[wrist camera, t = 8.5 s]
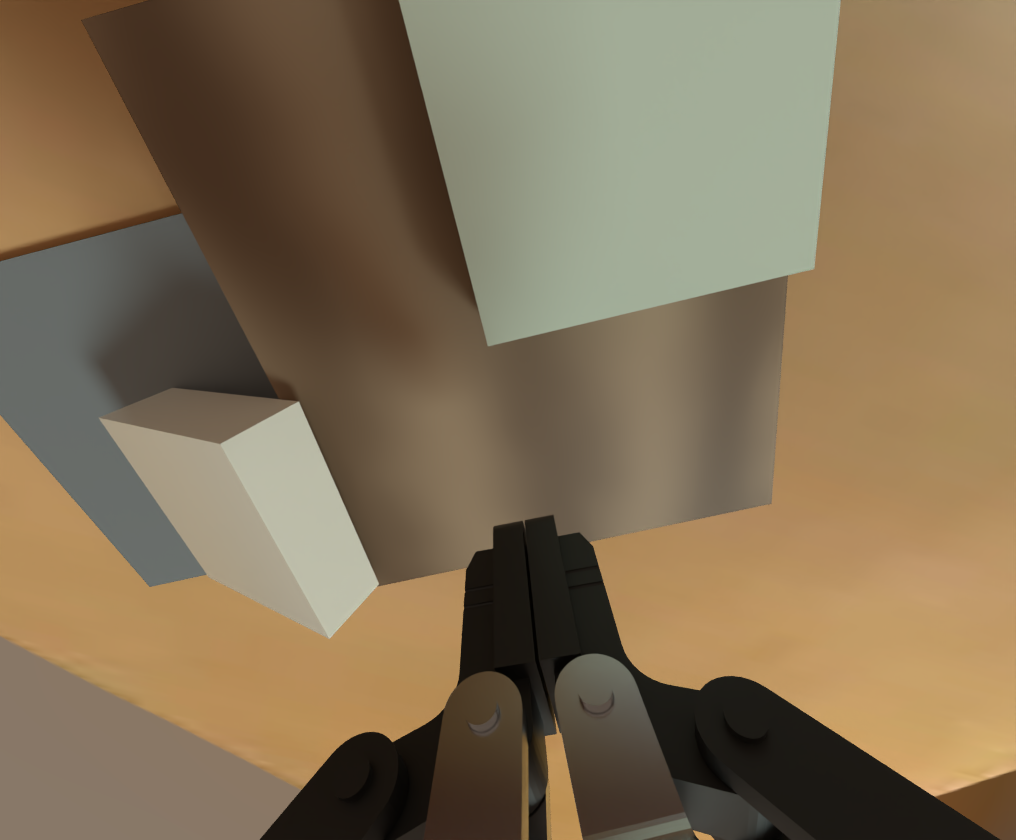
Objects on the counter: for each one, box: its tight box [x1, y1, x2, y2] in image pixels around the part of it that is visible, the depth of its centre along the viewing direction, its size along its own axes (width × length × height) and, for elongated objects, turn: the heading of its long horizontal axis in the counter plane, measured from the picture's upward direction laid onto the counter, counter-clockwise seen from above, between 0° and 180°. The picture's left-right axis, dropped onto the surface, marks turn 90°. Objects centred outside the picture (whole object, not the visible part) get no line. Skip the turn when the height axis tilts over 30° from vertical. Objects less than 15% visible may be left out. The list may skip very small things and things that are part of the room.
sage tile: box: [399, 0, 841, 346], centre depth 10 cm, size 8×8×2 cm
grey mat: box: [0, 213, 279, 587], centre depth 18 cm, size 12×15×1 cm
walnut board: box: [81, 0, 788, 586], centre depth 15 cm, size 16×18×4 cm
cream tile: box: [99, 388, 379, 639], centre depth 16 cm, size 8×8×2 cm
